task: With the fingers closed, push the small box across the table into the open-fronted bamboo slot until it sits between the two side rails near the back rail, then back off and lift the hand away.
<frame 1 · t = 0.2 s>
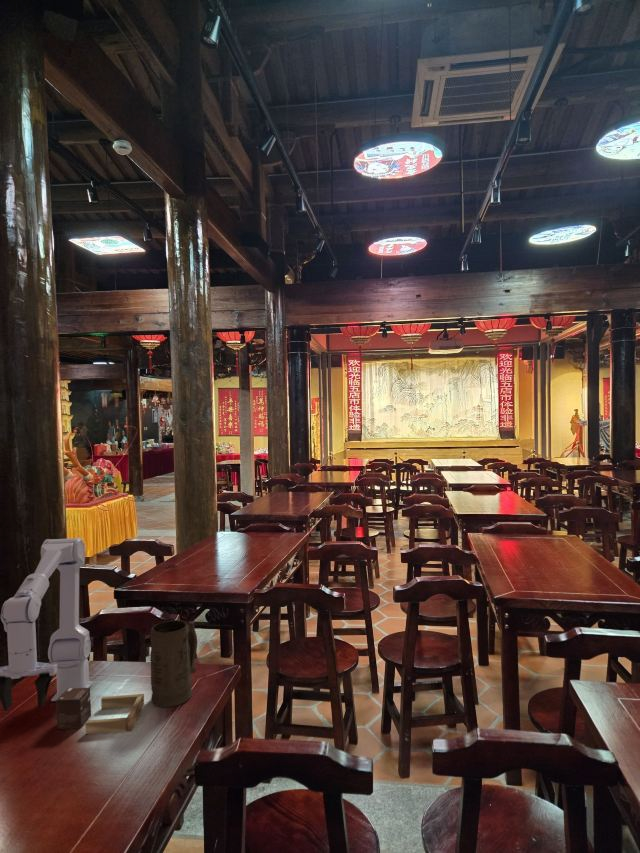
hand: (24, 706, 122), 10 cm above the table, tool pointing down, fingers open, 7 cm apart
beer stein: (177, 693, 146), on the table
box: (74, 723, 133), on the table
slot rails: (115, 718, 134), on the table
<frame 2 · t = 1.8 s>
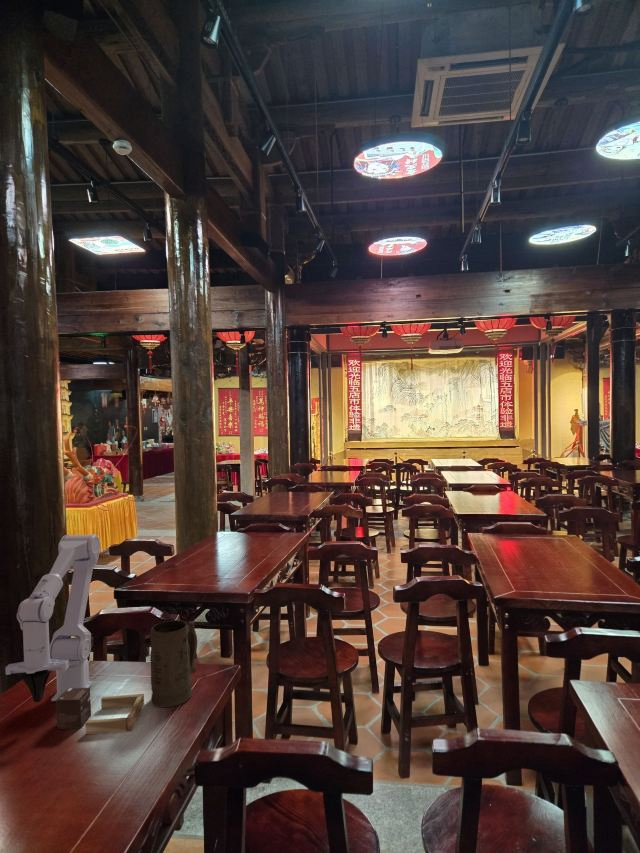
hand: (38, 700, 133), 6 cm above the table, tool pointing down, fingers closed
nothing on the table moved.
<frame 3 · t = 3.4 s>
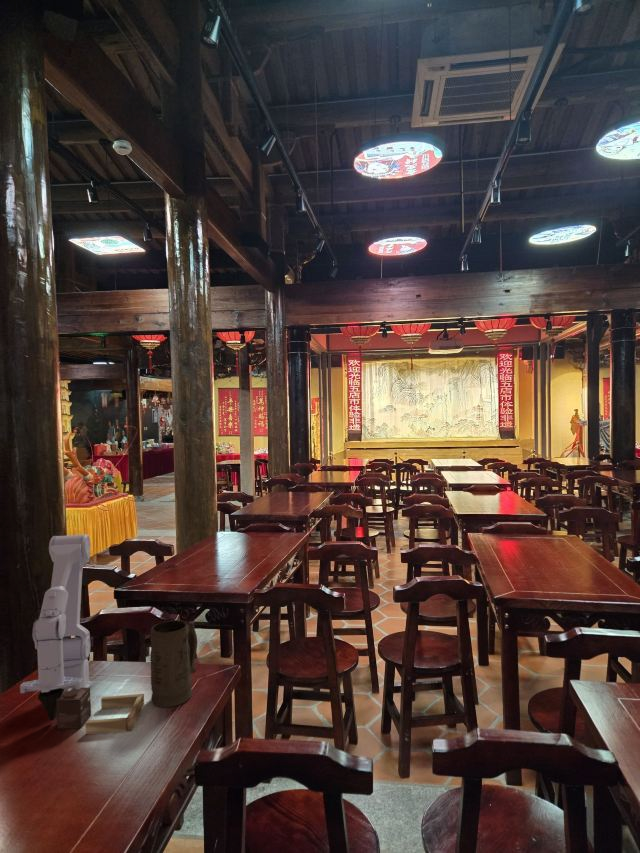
hand: (53, 718, 133), 1 cm above the table, tool pointing down, fingers closed
box: (74, 722, 133), on the table, touching gripper
everything else where it was.
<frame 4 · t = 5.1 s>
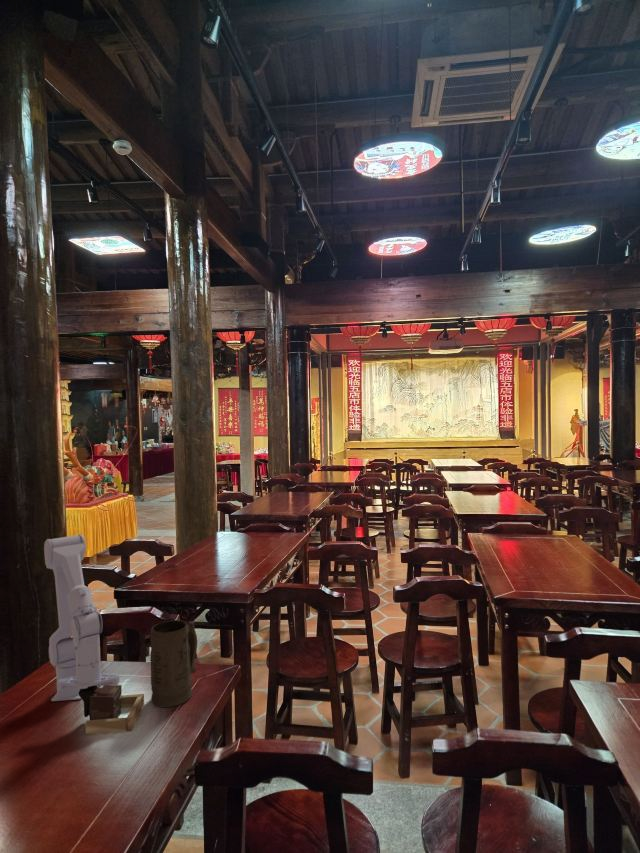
hand: (90, 714, 133), 2 cm above the table, tool pointing down, fingers closed, pressing on box
box: (105, 720, 134), on the table, touching gripper
everything else where it was.
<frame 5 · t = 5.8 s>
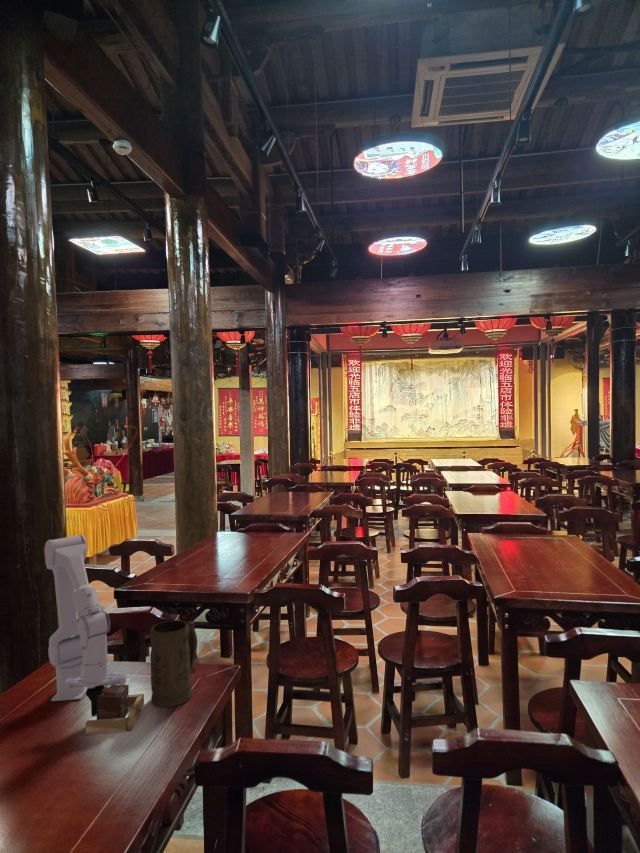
hand: (97, 714, 133), 2 cm above the table, tool pointing down, fingers closed, pressing on box
box: (112, 719, 134), on the table, touching gripper
everything else where it was.
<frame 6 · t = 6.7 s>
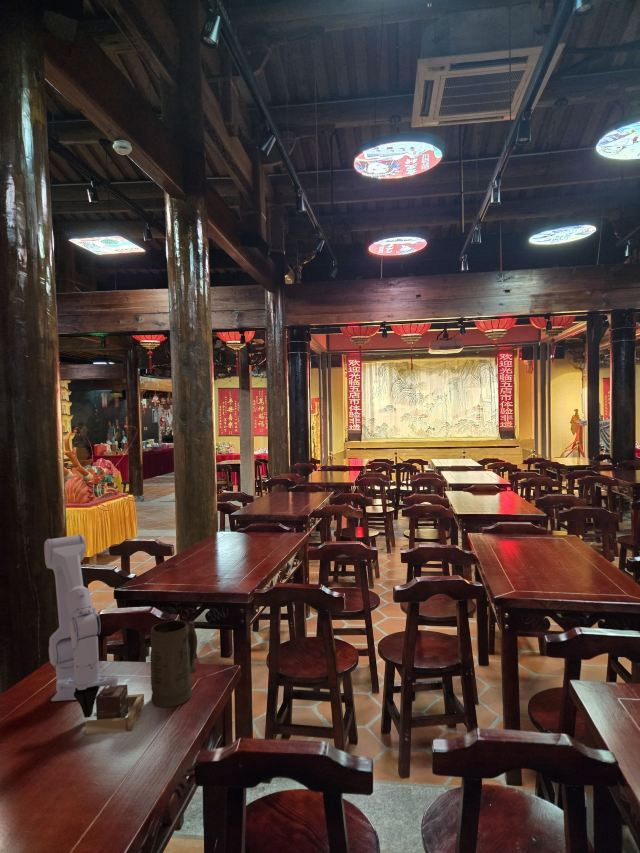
hand: (88, 715, 134), 1 cm above the table, tool pointing down, fingers closed
box: (113, 720, 134), on the table
everything else where it was.
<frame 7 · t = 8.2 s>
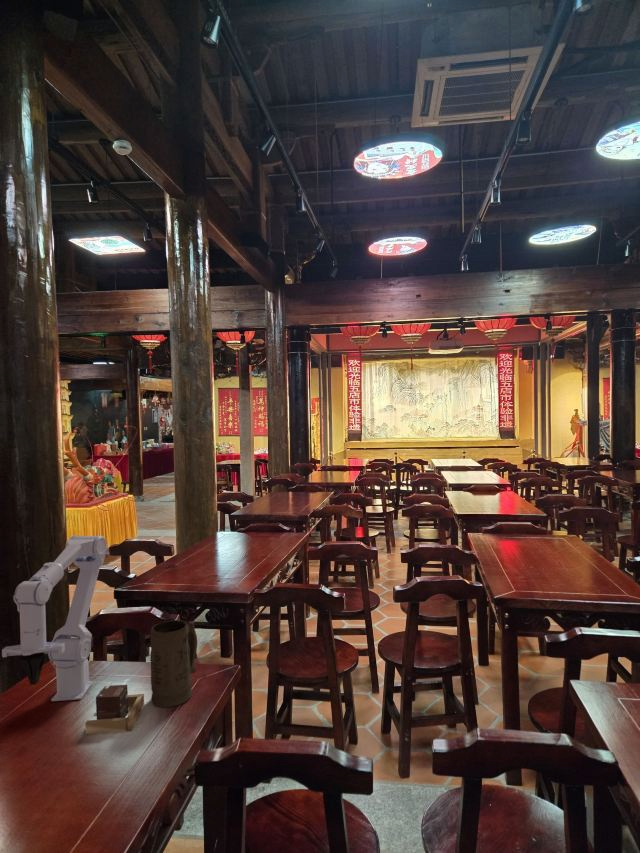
hand: (34, 682, 133), 10 cm above the table, tool pointing down, fingers closed
nothing on the table moved.
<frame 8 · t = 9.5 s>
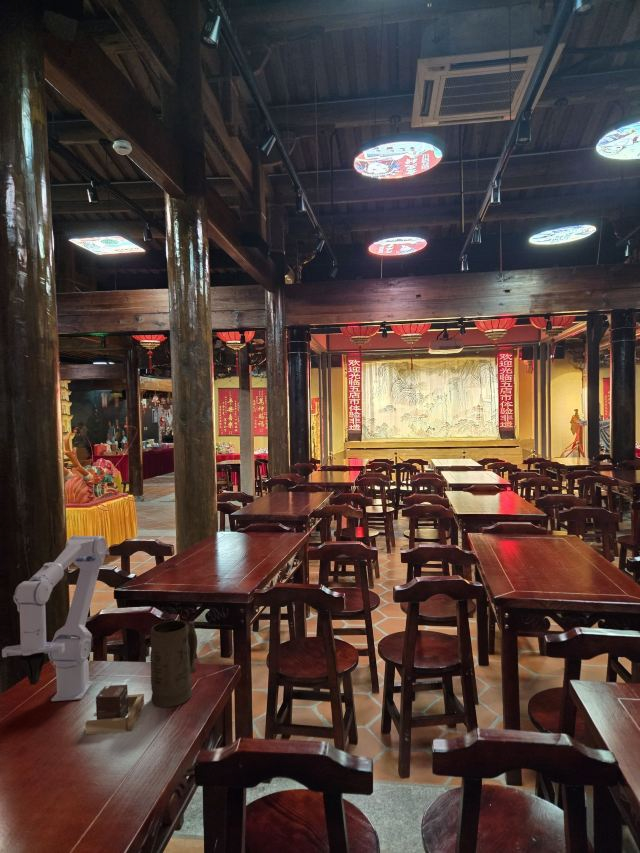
hand: (34, 682, 133), 10 cm above the table, tool pointing down, fingers closed
nothing on the table moved.
at the end: box inside the target area on the slot rails (1.0 cm from its centre), point 0.0 cm above the slot rails's base; box tilted 0°; box moved 9.5 cm from its start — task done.
